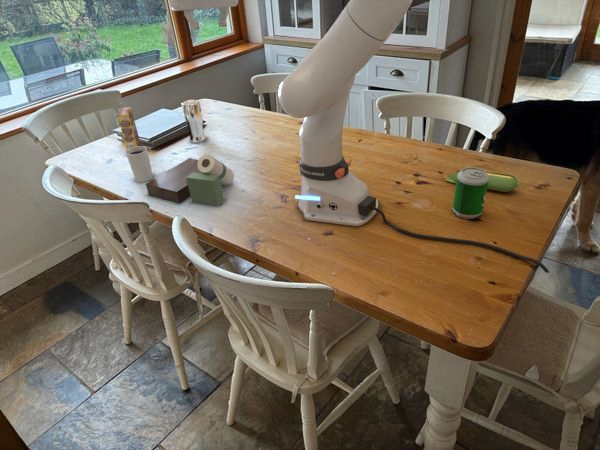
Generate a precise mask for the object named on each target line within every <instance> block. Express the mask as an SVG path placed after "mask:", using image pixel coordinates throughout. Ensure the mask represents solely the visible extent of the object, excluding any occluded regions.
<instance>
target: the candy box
mask: <svg viewBox="0 0 600 450" xmlns="http://www.w3.org/2000/svg"><path fill="white" fill-rule="evenodd" d="M132 109H133V108H132V107H131V106H127V107H122V108H119V112H118V113H117V119H118V122H119V123H118V124H119V126H120V130H121V133H122V137H123V141H124V145H125V149H126V150H128V149H130V148H133V147H138V146H141V145H142V144H141V140H140V136H139V132H138V129H137V124H136V121H135V117H134V114H133V110H132Z"/></svg>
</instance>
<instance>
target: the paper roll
mask: <svg viewBox="0 0 600 450" xmlns="http://www.w3.org/2000/svg"><path fill="white" fill-rule="evenodd" d="M197 160H198V163H197V167H198V169H199V170H200V171H201V172H202V173H204V174H211V175H219V177H220V182H221V186H229V185H230V184H231V183H232V182H233V181H234V178H235V175H234V174H235V173H234V171H233V170H232V169H231V168H229V167H228V166H227V165H225V164H224V163H223V162H222V161H220V160H218V159H217V158H216V157H215V156H213V155H211V154H209V153H205V154H203V155H201V156H200V157H199V158H198V159H197Z"/></svg>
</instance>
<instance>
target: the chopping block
mask: <svg viewBox="0 0 600 450" xmlns="http://www.w3.org/2000/svg"><path fill="white" fill-rule="evenodd" d="M198 160H199V159H196V158H191V157H189V158H187V159H185V160H183V161H182V162H180V163H179V164H177V165H175V166H174V167H171V168H170V169H168V170H167V171H165V172H163V173H161V174H160V175H158V176H156V177H154V178H152V179H151V180H148V181H147V182H145V187H146V190H147V194H148V196H150V197H154V198H158V199H161V200H165V201H169V202H172V203H175V204H176V203H177V204H181V203H183V202H184V201H186V200H187V199H189V198H191V196H190V192H189V188H188V183H187V179H186V177H188V176H189V175H190V174H191V173H192V172H194V173H202V172H201V171H200V170H199V169H198V167H197V163H198ZM203 174H204V173H203Z"/></svg>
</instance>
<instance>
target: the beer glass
mask: <svg viewBox="0 0 600 450" xmlns="http://www.w3.org/2000/svg"><path fill="white" fill-rule="evenodd" d="M181 109H182V114H183V119H184V122H185V124H186V127H187V129H188V132H189V141H190V142H191V143H193V144H198V143H203V142H204V141H206V140H207V138H206V135H205V132H204V124H203V122H204V121H203V111H202V107H201V103H200V100H198V99H187V100H184V101H182V102H181Z"/></svg>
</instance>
